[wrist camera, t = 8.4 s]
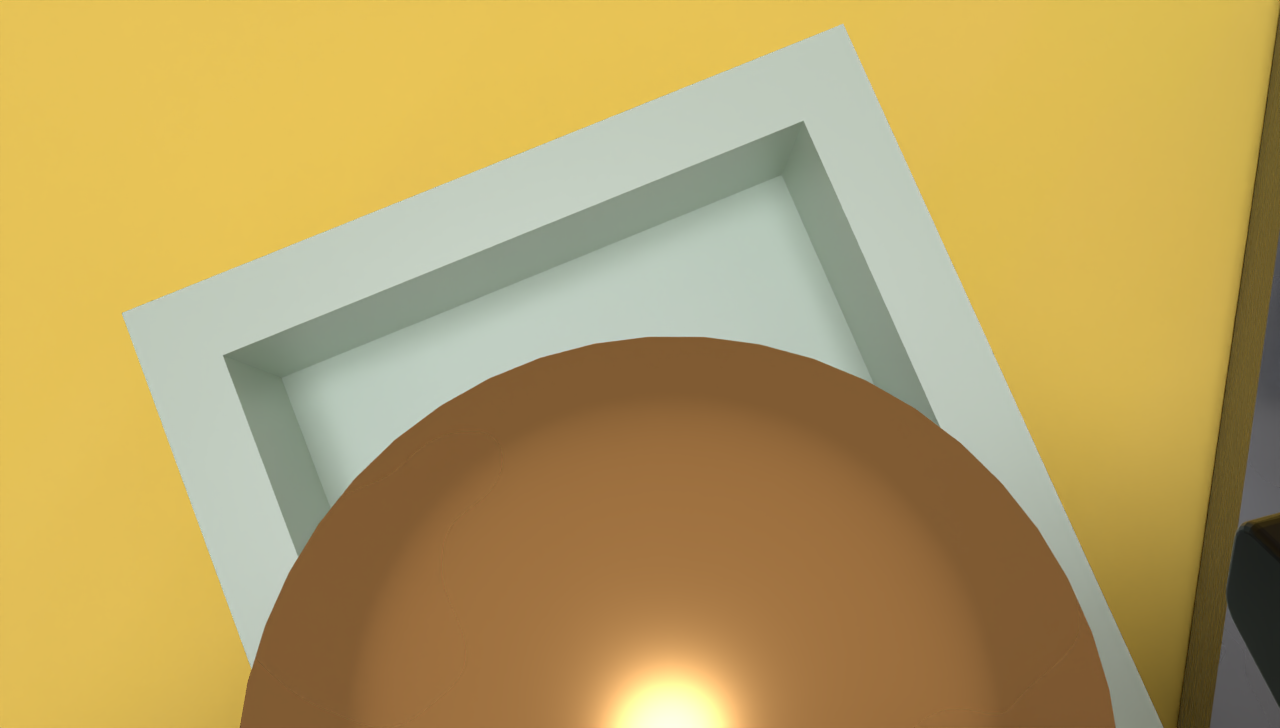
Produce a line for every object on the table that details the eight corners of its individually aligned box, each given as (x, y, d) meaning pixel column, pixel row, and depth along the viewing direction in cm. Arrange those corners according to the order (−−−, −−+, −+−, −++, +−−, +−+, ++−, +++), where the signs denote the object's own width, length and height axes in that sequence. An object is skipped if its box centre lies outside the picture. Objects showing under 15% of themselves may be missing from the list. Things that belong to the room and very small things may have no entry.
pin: (863, 582, 17) (1303, 740, 5) (678, 798, 17) (717, 1463, 5) (654, 398, 18) (640, 164, 6) (469, 605, 17) (54, 808, 6)
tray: (1131, 837, 18) (1248, 913, 14) (502, 1113, 17) (467, 1260, 14) (807, 112, 19) (843, 23, 16) (217, 351, 19) (121, 312, 15)
